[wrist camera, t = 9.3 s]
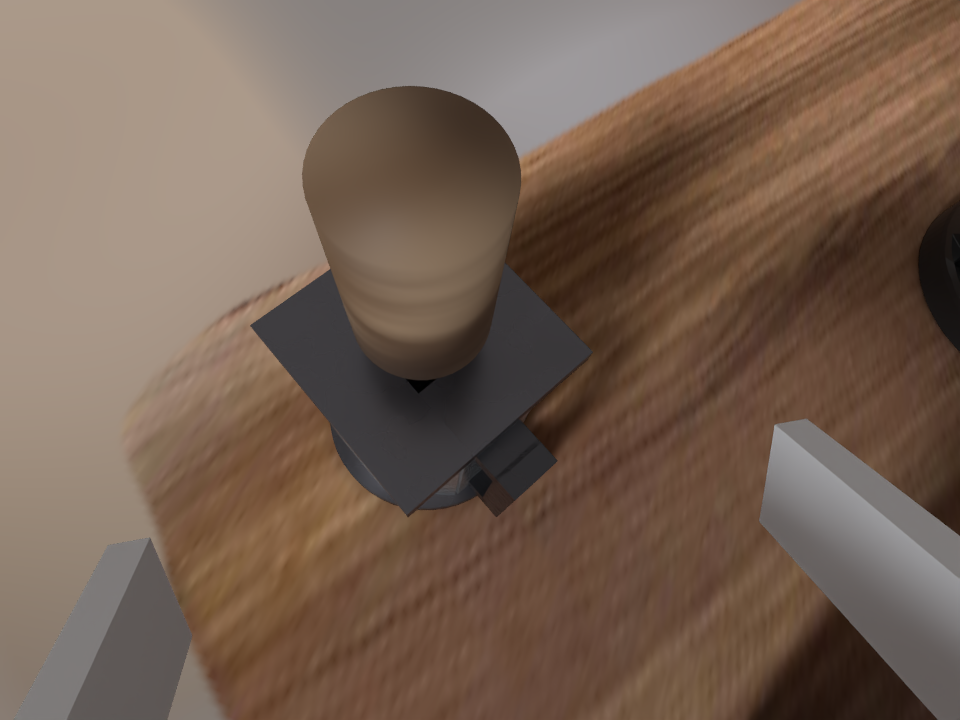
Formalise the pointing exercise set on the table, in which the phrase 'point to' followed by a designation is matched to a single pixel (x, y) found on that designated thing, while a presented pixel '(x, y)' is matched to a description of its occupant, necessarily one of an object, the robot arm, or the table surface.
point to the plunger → (414, 224)
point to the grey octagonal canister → (430, 399)
